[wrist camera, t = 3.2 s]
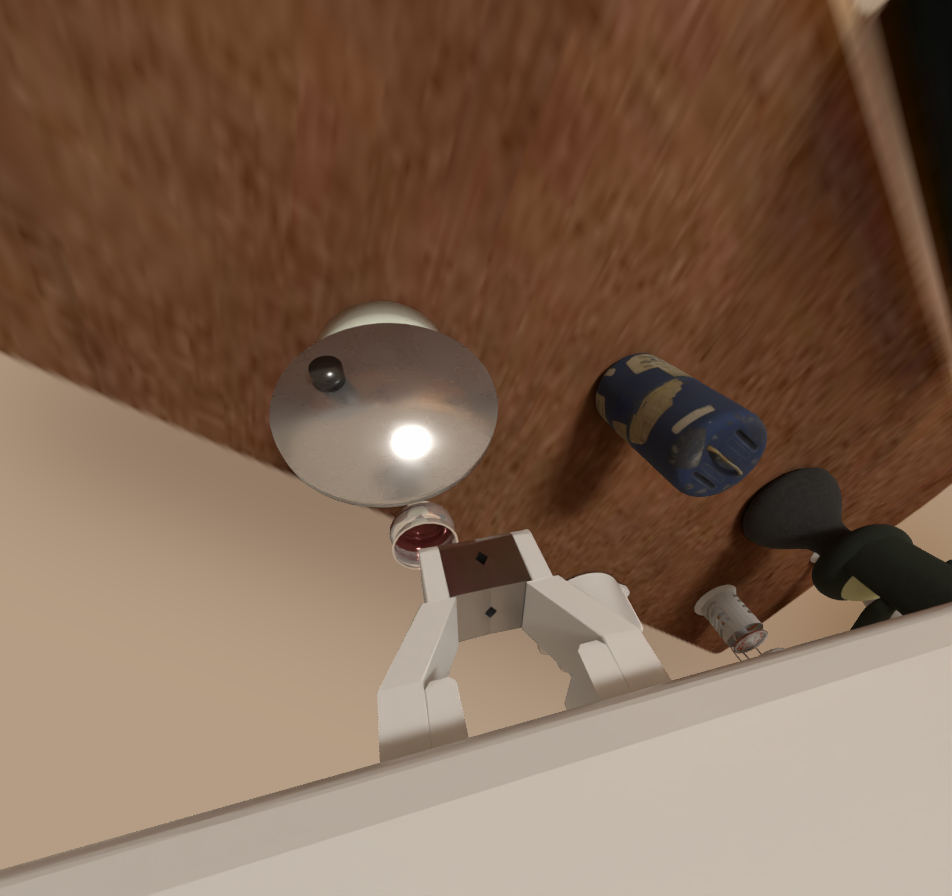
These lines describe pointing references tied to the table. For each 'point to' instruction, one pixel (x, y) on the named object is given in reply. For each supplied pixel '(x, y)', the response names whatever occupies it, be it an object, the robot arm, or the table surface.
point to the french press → (732, 619)
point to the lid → (384, 414)
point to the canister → (680, 424)
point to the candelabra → (847, 548)
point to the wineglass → (420, 531)
